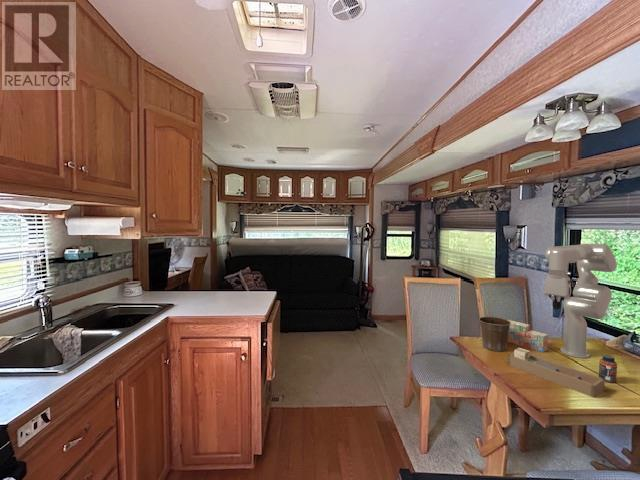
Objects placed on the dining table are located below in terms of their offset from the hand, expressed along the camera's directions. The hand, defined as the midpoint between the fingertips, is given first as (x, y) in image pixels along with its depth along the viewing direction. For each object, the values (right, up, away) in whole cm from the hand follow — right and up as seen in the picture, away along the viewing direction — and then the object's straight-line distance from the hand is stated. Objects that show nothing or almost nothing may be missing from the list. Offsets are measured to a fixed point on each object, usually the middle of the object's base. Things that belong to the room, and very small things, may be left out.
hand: (556, 308), depth 154 cm
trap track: (-11, -30, -11) cm, 34 cm away
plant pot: (-19, -28, +23) cm, 41 cm away
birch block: (-18, -26, 0) cm, 32 cm away
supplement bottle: (+12, -30, -15) cm, 36 cm away
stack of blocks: (+1, -28, +26) cm, 38 cm away
